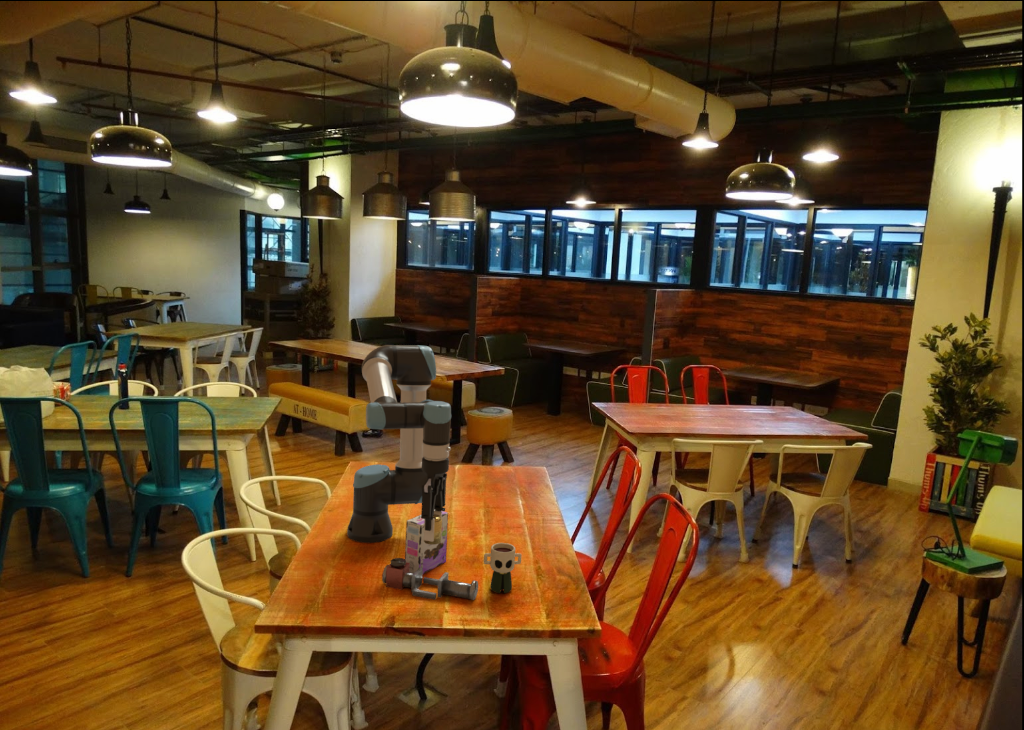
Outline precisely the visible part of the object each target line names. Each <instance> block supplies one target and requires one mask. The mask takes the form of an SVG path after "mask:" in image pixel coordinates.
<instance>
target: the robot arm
mask: <svg viewBox="0 0 1024 730" xmlns="http://www.w3.org/2000/svg"><path fill="white" fill-rule="evenodd" d="M436 363H437V362H436V358H435V353H434V351H433V349H432V348H431V347H430V346H427V345H419V344H417V345H415V344H414V345H413V344H412V345H411V344H410V345H409V344H408V345H407V344H406V345H405V344H403V345H402V344H399V345H398V344H396V345H394V344H385V345H382V346H378V347H376V348H374V349H372V351H370V352H369V353H368V354H367V355H366V357H365V358H364V359H363V361H362V364H361V373H362V374H361V375H362V377H363V379H364V381H366V384H367V389H368V395H369V399H370V400H369V401H370V402H369V403H367V404H366V408H365V423H366V424H365V425H366V427H367V428H368V429H370V430H379V431H380V430H395V429H396V430H398V429H399V430H400V431H399V432H400V433H399V434H400V435H399V436H400V437H399V438H400V439H399V441H400V442H399V443H400V445H399V460H398V461H397V462H396V463H395V465H394V469H390V467H389V466H388V465H386V464H369V465H366V466H363V467H361V468H359V469H357V470H356V471H355V472H354V476H353V482H352V487H353V502H352V503H353V504H352V515H351V517H350V520H349V523H348V525H347V531H346V532H347V533H346V534H347V535H346V536H347V538H348V539H350V540H351V541H353V542H357V543H362V544H363V543H364V544H366V543H367V544H369V543H370V544H371V543H380V542H385V541H387V540H389V539H390V538H392V536H393V534H394V533H393V531H394V530H393V529H394V527H393V524H392V521H391V517H390V515H389V506H390V505H391V506H392V505H393V506H395V505H410V504H411V505H413V504H414V505H417V504H421V514H420V515H421V518H422V519H425V521H424V540H426V541H432V542H433V541H434V523H435V518H433V516H434V515H439V516H441V518H442V512H441V511H444V512H446V507H445V506H446V494H447V493H446V492H447V491H446V490H447V489H446V488H447V477H448V473H447V472H449V470H450V469H449V467H450V458H449V457H450V451H452V448H451V446H450V442H451V440H450V439H451V419H452V407H451V404H450V403H449V402H445V401H441V400H432V399H427V390H428V389H429V388H430V387H431V386H432V381H434V380H436V378H437V364H436ZM392 380H394V381H395V380H396V386H397V387H398V388H399V389H400V402H398V400H397V396H396V392H395V389H394V384H393V381H392ZM434 510H435V511H434Z"/></svg>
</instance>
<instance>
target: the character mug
mask: <svg viewBox="0 0 1024 730" xmlns="http://www.w3.org/2000/svg"><path fill="white" fill-rule="evenodd" d="M488 557H490V559H489V560H488ZM516 557H517V560H516V559H515V558H516ZM483 564H484V565H489V567H490V568H491V571H493V572H492V575H491V579H490V580H491V581H490V586H489V587H490V590H491V591H492V592H494V593H498V594H501V592H502V591H503V594H506V593H510V592H511V591H512V590H513V589H512V587H513V585H512V583H513V582H512V581H513V580H512V573H511V572H512V571H513V570H514V569H515V565H520V564H522V553H518V552H517V553H516V547H515V546H514V545H513V544H511V543H508V542H506V543H505V542H497V543H494V544H492V545H491V548H490V553H484V555H483Z"/></svg>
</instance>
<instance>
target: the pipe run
mask: <svg viewBox="0 0 1024 730" xmlns="http://www.w3.org/2000/svg"><path fill="white" fill-rule="evenodd" d="M409 570H410V563H407V562H406V560H405V558H402V557H395V558H392V559H391V560H390V563H389V564H386V566H385V567H384V569H383V572H382V574H381V580H382V583H383V584H385V587H386V588H391V589H397V590H400V591H401V590H403V589H404V588H411V589H410V590H411V591H410V592H411V593H412V596H413V597H419V598H423V599H428V600H429V599H430V600H437V598H442V597H443V596H444V595H447V596H452V597H456V598H461V599H462V598H463V599H468V600H471V601H475V599H476V598H477V595H478V592H479V582H478V580H475V579H474V580H472V581H471V583H468V582H467V583H466V582H462V581H458V580H457V581H456V580H451V579H449V572H446V571H445V572H444V573H443V574H442V575H441V577H440V578H438V579H437V578H433V577H427V576H424V577H423V575H424V574H423V568H419V569H418V570H417V571H416V572H415V573H414V574H413V573H409ZM423 584H426V585H431V586H437V593H436V592H432V591H427V590H423V589H422V590H421V589H420V587H421V586H422V585H423Z"/></svg>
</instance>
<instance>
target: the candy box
mask: <svg viewBox="0 0 1024 730" xmlns="http://www.w3.org/2000/svg"><path fill="white" fill-rule="evenodd" d="M434 511H435V510H434ZM441 512H442V537H441V542H440V543H439V544H426V543H425V542H424V519H422V518H421V514H420V515H417V516H415V517H412V518H410V519H407V520H406V525H405V528H406V529H405V547H404V548H405V550H404V551H405V552H404V559H405V560H406V562H407V563H410V570H409V573H413V574H414V573H415V572H416V571H417V570H418V569H419V568H423V575H424V574H425V573H426V574H427V572H429V571H432V570H433V569H435V568H437V567H438V566H441V565H443V564H444V563H446V562H447V549H448V548H447V546H448V545H447V543H448V524H449V523H448V521H449V520H448V518H449V512H447V511H441Z"/></svg>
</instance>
